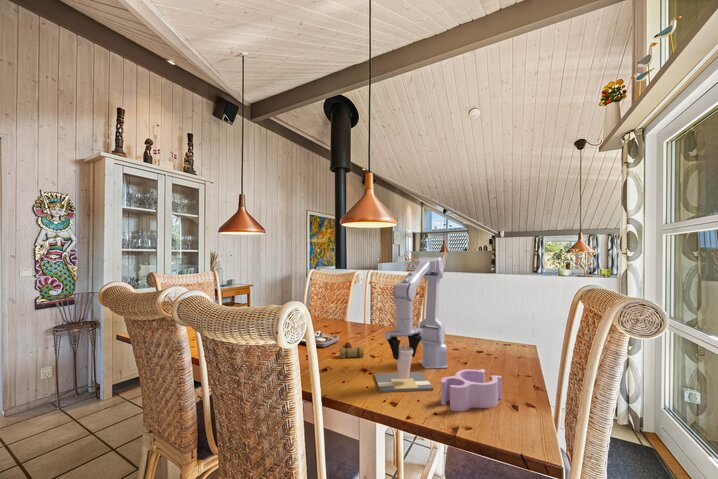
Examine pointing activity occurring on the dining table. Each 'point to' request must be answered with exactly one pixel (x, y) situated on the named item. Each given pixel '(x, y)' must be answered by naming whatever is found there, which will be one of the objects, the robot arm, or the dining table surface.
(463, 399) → the clip
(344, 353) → the gavel
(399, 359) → the smoothie
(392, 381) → the board
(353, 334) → the dining table surface
